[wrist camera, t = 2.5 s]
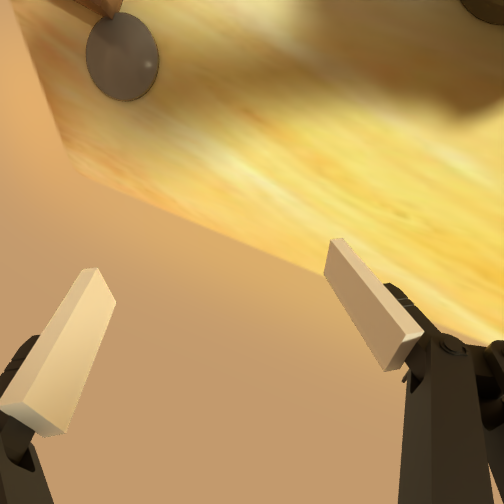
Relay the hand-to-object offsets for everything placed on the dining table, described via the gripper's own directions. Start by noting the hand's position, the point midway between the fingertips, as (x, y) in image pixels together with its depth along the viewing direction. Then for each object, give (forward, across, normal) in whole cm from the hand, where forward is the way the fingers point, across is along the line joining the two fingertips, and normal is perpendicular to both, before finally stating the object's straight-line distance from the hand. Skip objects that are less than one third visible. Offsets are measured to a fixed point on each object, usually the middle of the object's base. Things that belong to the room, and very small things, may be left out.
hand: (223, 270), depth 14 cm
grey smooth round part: (+37, -11, +12) cm, 40 cm away
